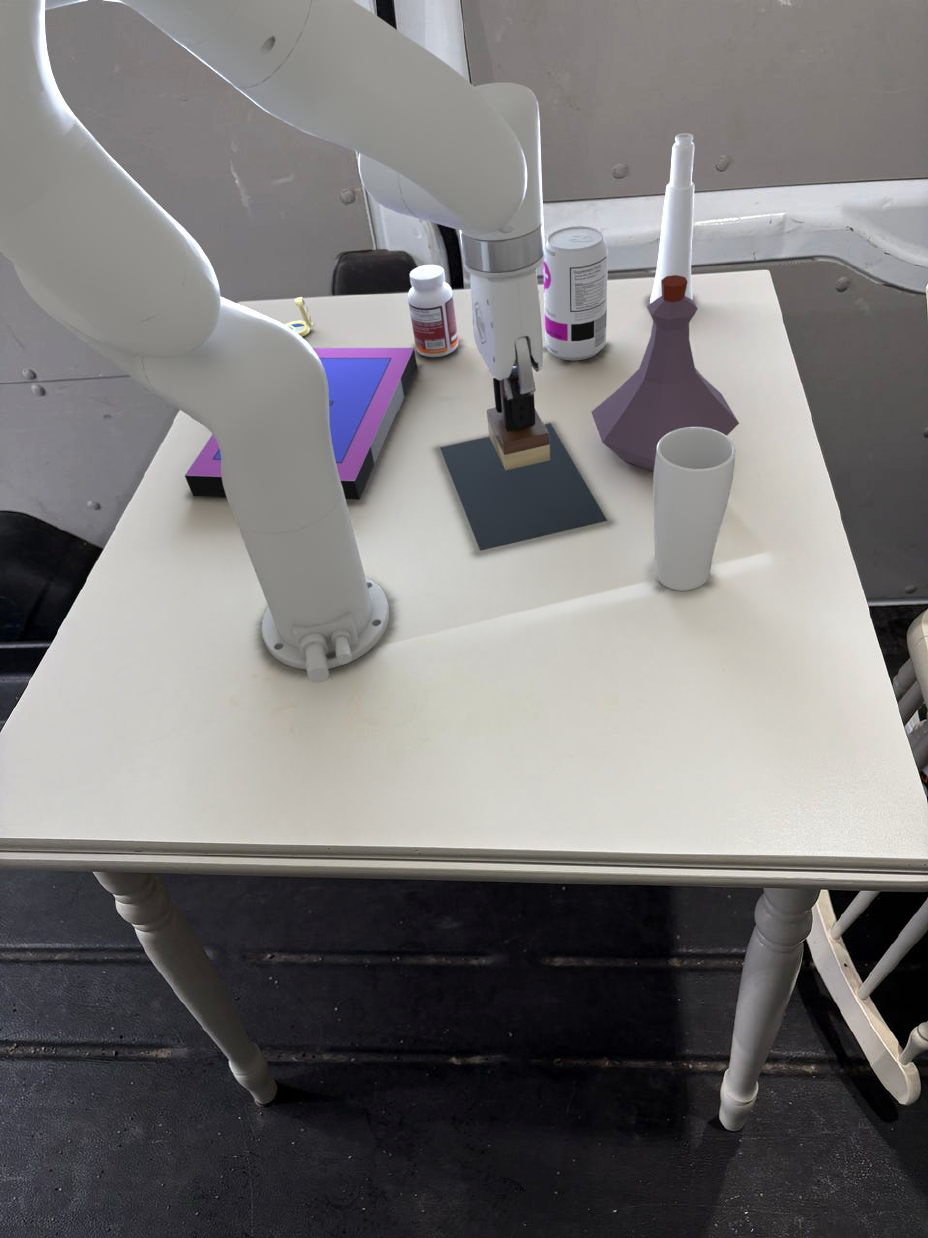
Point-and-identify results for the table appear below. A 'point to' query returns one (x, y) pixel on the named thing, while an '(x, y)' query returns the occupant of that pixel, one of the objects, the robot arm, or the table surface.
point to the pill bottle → (432, 312)
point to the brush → (518, 438)
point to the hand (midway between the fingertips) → (515, 416)
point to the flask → (662, 387)
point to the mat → (519, 493)
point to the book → (340, 415)
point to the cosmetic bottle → (677, 218)
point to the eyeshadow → (301, 326)
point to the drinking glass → (689, 503)
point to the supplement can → (575, 292)
